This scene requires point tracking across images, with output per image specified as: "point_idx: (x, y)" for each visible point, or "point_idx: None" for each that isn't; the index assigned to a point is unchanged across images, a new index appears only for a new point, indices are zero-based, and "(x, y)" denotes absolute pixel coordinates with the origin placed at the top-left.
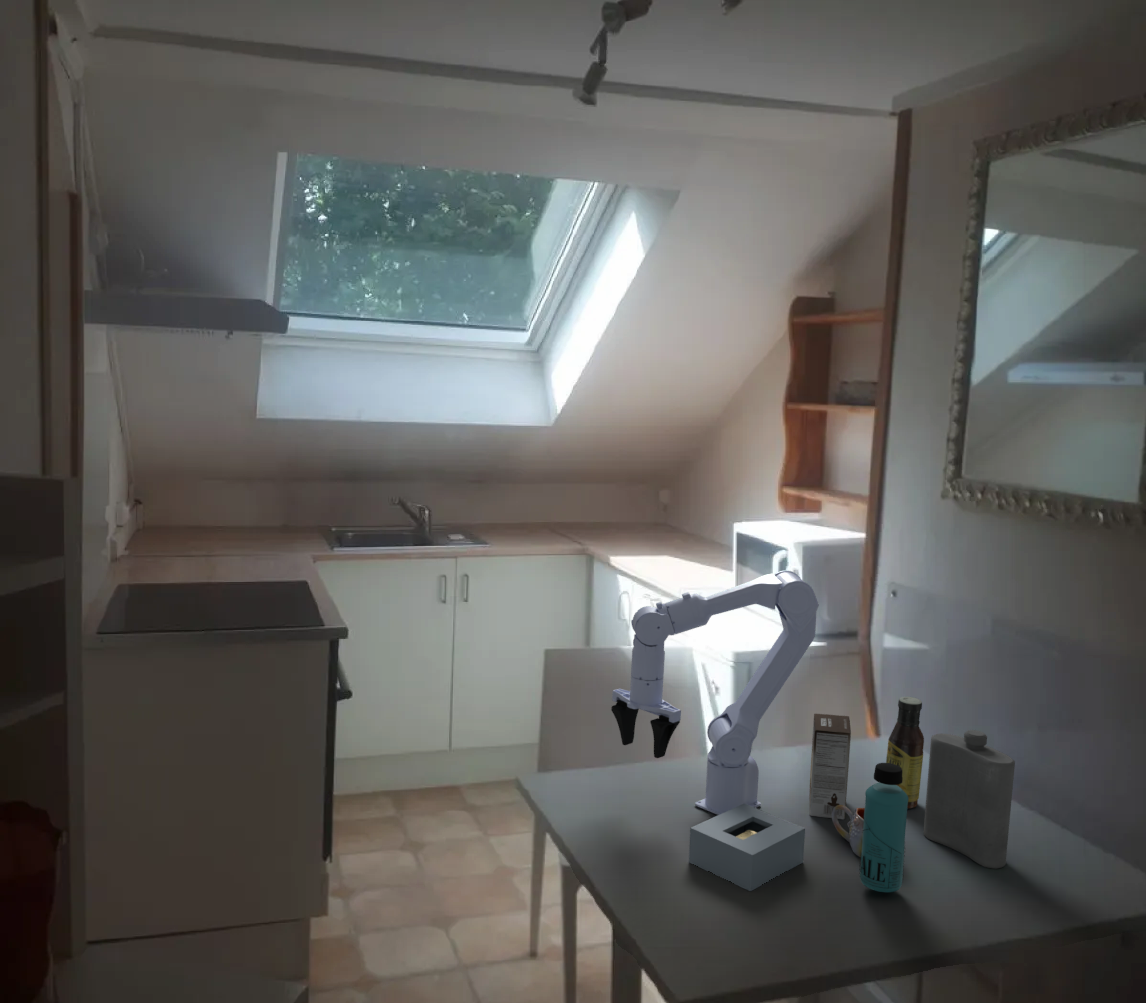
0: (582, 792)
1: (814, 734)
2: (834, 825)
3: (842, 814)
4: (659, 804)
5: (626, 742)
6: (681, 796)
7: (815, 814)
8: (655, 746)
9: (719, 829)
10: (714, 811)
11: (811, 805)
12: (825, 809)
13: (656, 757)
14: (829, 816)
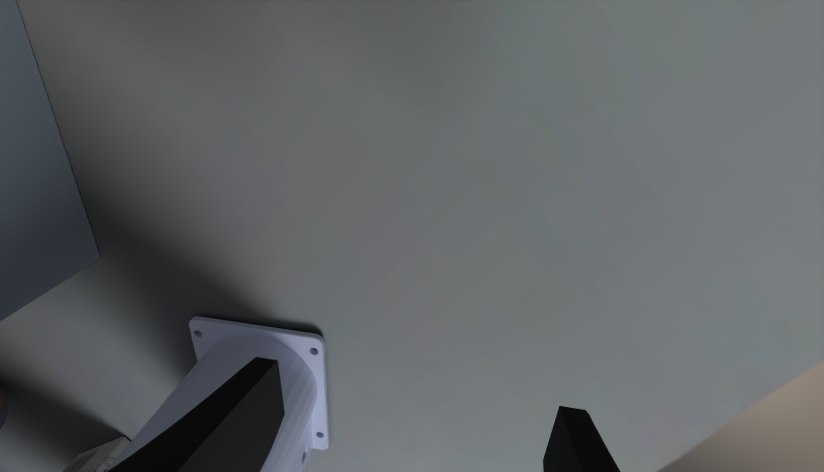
0: (727, 175)
1: None
2: (2, 407)
3: (71, 463)
4: (408, 280)
5: (560, 433)
6: (397, 363)
7: (111, 442)
8: (204, 416)
9: None
10: (241, 327)
11: (102, 459)
12: (86, 461)
13: (256, 359)
14: (94, 449)
